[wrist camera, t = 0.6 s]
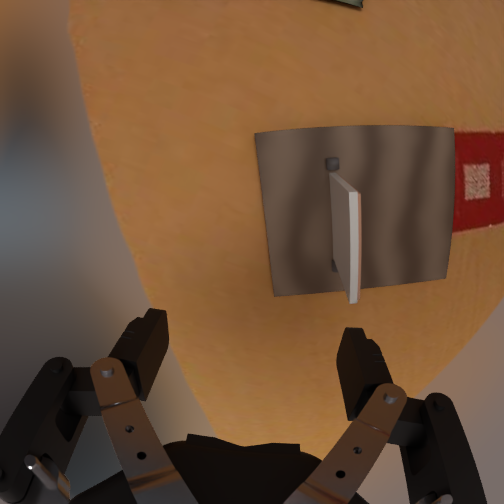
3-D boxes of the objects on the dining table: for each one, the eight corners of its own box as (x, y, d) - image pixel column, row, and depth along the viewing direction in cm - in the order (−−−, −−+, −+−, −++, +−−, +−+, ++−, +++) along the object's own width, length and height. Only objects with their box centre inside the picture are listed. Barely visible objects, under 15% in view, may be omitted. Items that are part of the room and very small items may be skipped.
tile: (329, 172, 32) (338, 172, 32) (333, 257, 36) (341, 257, 35) (348, 192, 23) (361, 191, 22) (349, 303, 26) (360, 302, 26)
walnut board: (447, 127, 30) (459, 128, 27) (441, 273, 37) (450, 283, 35) (255, 133, 33) (253, 133, 30) (274, 290, 40) (274, 302, 38)
